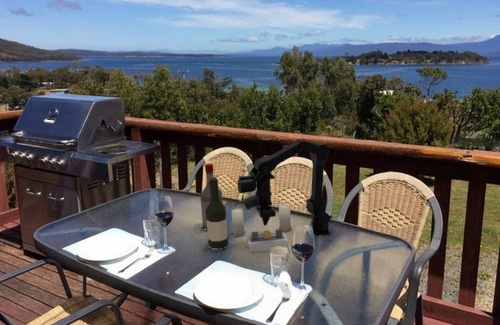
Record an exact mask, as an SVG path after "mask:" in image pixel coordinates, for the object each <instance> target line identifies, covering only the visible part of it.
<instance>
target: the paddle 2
mask: <svg viewBox="0 0 500 325" xmlns="http://www.w3.org/2000/svg"><path fill="white" fill-rule="evenodd" d="M275 233H276V238H279V237H282V229H279V228H277V229H275Z"/></svg>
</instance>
